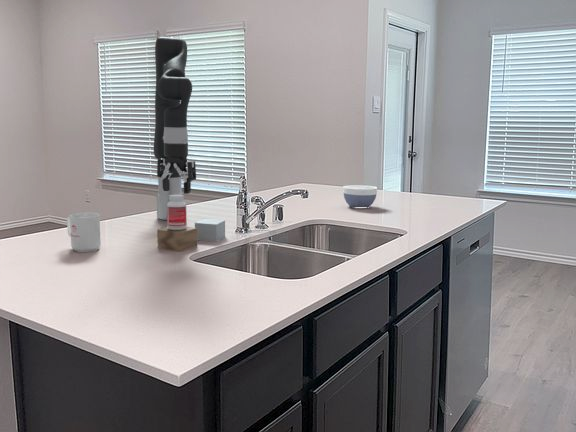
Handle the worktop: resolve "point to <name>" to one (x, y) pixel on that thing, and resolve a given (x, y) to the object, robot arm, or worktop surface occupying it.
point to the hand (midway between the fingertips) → (176, 192)
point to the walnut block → (177, 238)
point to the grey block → (210, 230)
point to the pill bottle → (176, 212)
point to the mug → (84, 231)
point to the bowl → (359, 195)
